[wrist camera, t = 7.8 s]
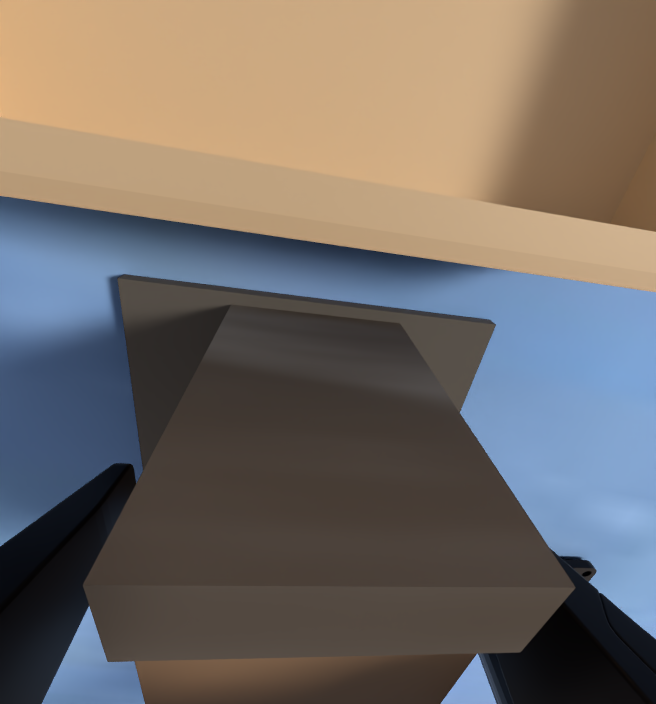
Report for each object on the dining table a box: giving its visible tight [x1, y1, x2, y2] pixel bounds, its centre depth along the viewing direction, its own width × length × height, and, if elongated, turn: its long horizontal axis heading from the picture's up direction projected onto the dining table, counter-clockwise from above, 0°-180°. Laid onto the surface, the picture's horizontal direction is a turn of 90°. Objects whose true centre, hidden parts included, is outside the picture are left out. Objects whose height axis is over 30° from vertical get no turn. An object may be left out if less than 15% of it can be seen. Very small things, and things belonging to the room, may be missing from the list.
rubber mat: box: [118, 274, 496, 470], centre depth 12 cm, size 9×11×1 cm
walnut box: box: [83, 304, 576, 704], centre depth 8 cm, size 8×5×7 cm, turn 172°
